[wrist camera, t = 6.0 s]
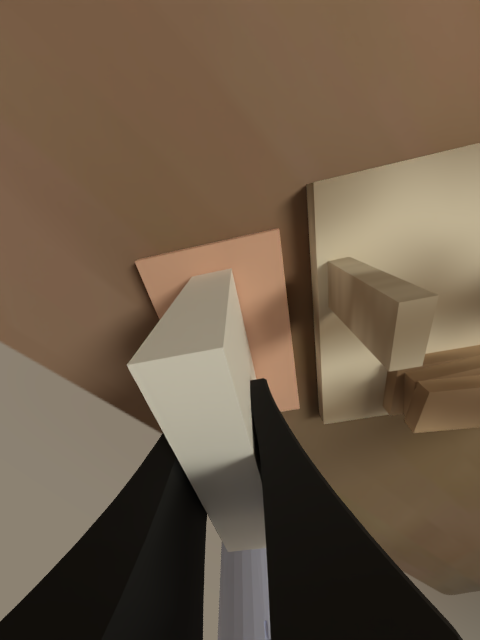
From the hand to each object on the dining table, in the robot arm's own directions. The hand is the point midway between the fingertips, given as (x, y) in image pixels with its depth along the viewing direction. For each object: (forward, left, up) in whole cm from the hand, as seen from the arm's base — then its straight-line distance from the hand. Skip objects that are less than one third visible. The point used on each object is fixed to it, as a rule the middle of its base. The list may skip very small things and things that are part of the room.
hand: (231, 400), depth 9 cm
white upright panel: (0, 0, -4) cm, 4 cm away
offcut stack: (-5, -12, -3) cm, 13 cm away
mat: (0, 0, -4) cm, 4 cm away
